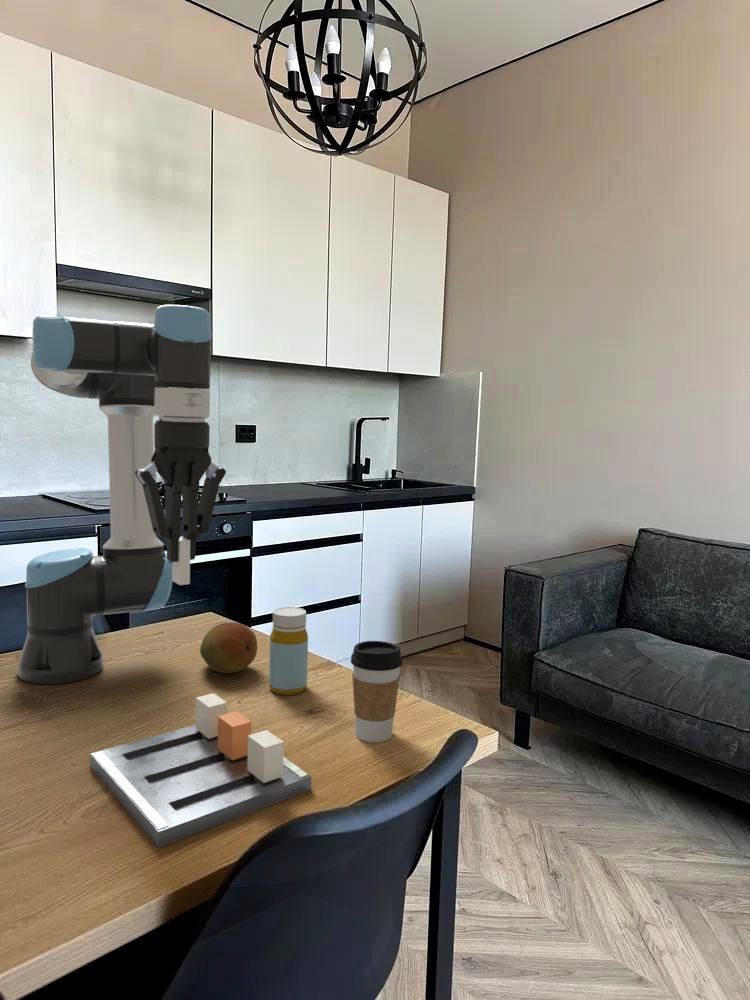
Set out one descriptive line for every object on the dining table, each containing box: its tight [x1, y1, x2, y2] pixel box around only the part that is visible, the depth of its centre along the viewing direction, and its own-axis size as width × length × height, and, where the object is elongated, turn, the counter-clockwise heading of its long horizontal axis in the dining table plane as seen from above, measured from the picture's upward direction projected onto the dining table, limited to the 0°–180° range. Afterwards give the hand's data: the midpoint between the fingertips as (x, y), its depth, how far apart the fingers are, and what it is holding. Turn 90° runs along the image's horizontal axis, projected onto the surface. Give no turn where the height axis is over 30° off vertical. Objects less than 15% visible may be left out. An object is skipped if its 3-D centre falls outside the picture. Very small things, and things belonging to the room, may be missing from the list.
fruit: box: [199, 621, 258, 674], centre depth 141 cm, size 12×12×10 cm
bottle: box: [268, 606, 309, 696], centre depth 133 cm, size 7×7×15 cm
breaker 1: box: [195, 692, 228, 739], centre depth 110 cm, size 4×3×6 cm
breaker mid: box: [218, 710, 252, 760], centre depth 104 cm, size 4×3×6 cm
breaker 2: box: [247, 729, 285, 783], centre depth 98 cm, size 4×3×6 cm
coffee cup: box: [350, 640, 403, 743], centre depth 115 cm, size 8×8×15 cm
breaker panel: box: [89, 724, 312, 848], centre depth 100 cm, size 24×22×2 cm
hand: (180, 582), depth 103 cm, fingers closed
